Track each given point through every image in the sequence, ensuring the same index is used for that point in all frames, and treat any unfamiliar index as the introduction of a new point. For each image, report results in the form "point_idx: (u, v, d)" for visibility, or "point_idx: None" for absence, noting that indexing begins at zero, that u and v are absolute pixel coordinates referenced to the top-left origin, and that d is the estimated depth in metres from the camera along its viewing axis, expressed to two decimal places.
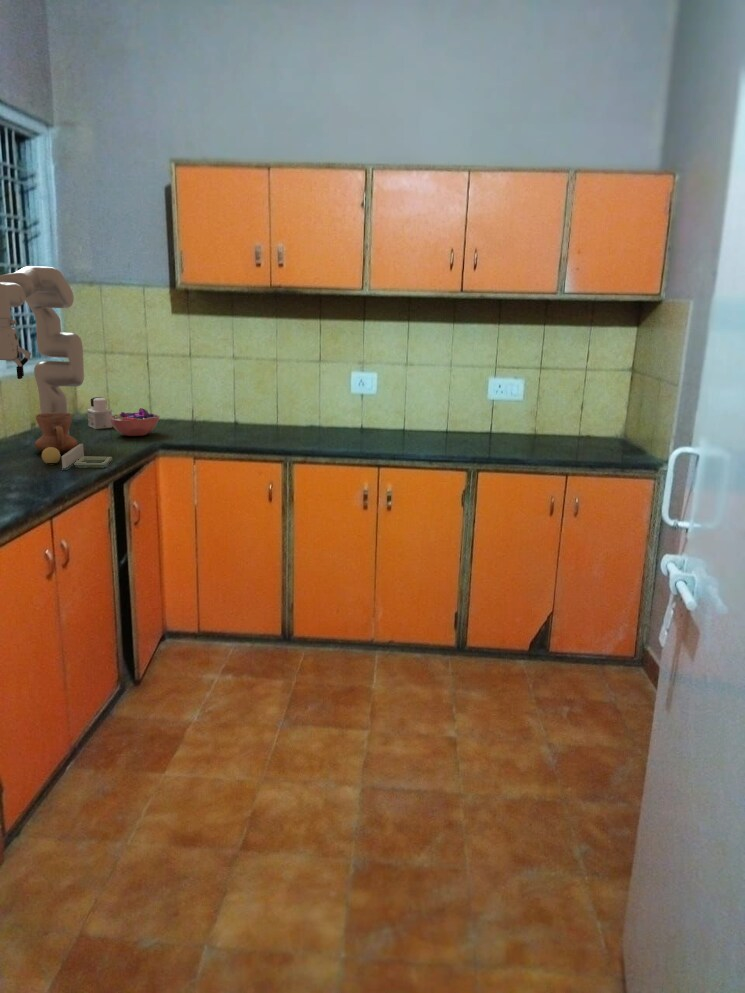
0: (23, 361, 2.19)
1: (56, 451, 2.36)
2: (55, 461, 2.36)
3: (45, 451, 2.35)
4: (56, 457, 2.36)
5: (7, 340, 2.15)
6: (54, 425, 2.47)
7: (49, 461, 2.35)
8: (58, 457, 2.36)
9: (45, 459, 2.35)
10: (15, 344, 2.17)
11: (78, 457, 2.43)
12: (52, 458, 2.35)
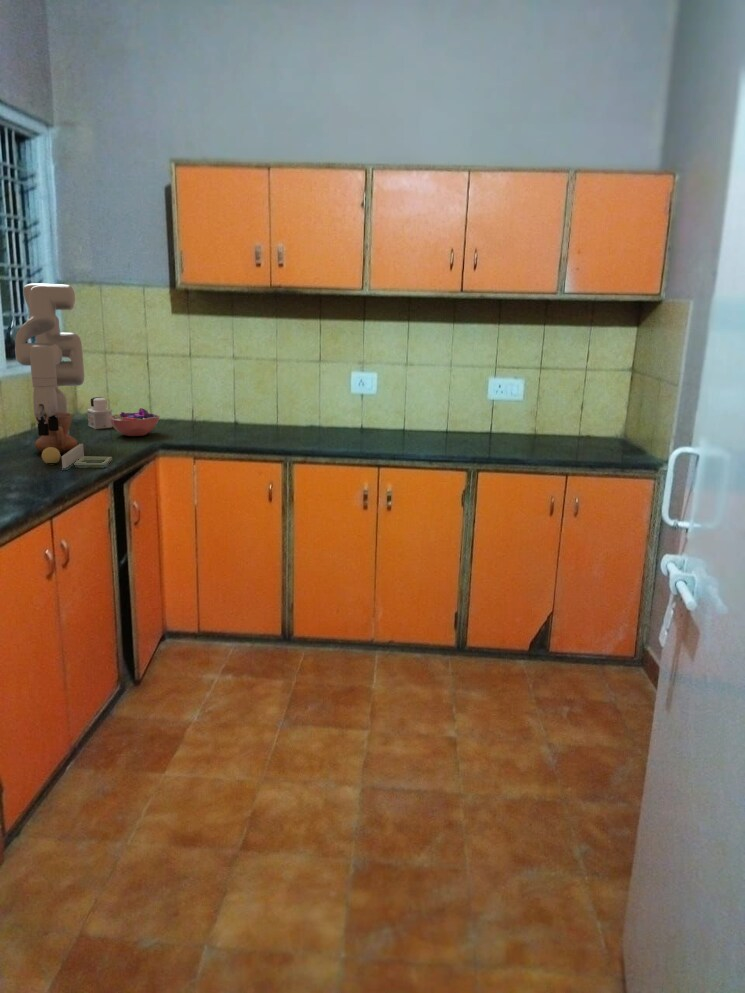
0: (56, 414, 2.39)
1: (56, 451, 2.36)
2: (55, 461, 2.36)
3: (45, 451, 2.35)
4: (56, 457, 2.36)
5: (55, 396, 2.34)
6: None
7: (49, 461, 2.35)
8: (58, 457, 2.36)
9: (45, 459, 2.35)
10: None
11: (78, 457, 2.43)
12: (52, 458, 2.35)
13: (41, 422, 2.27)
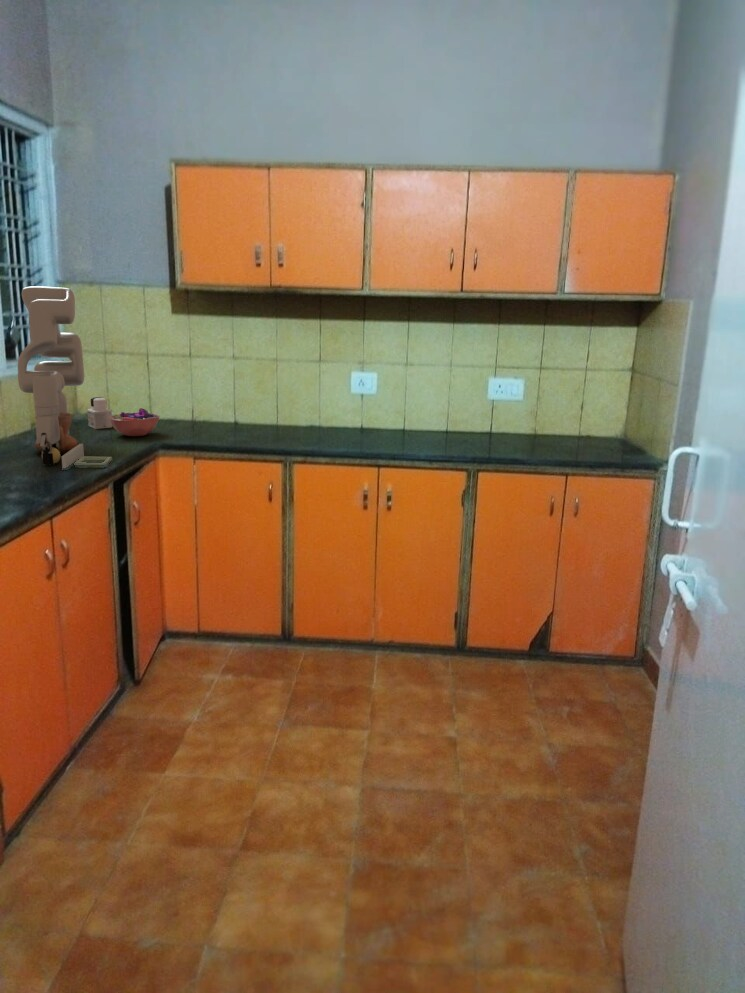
0: (57, 443, 2.41)
1: (56, 451, 2.36)
2: (55, 461, 2.36)
3: None
4: (56, 457, 2.36)
5: (58, 424, 2.37)
6: None
7: None
8: (58, 457, 2.36)
9: None
10: None
11: (78, 457, 2.43)
12: None
13: (46, 452, 2.32)
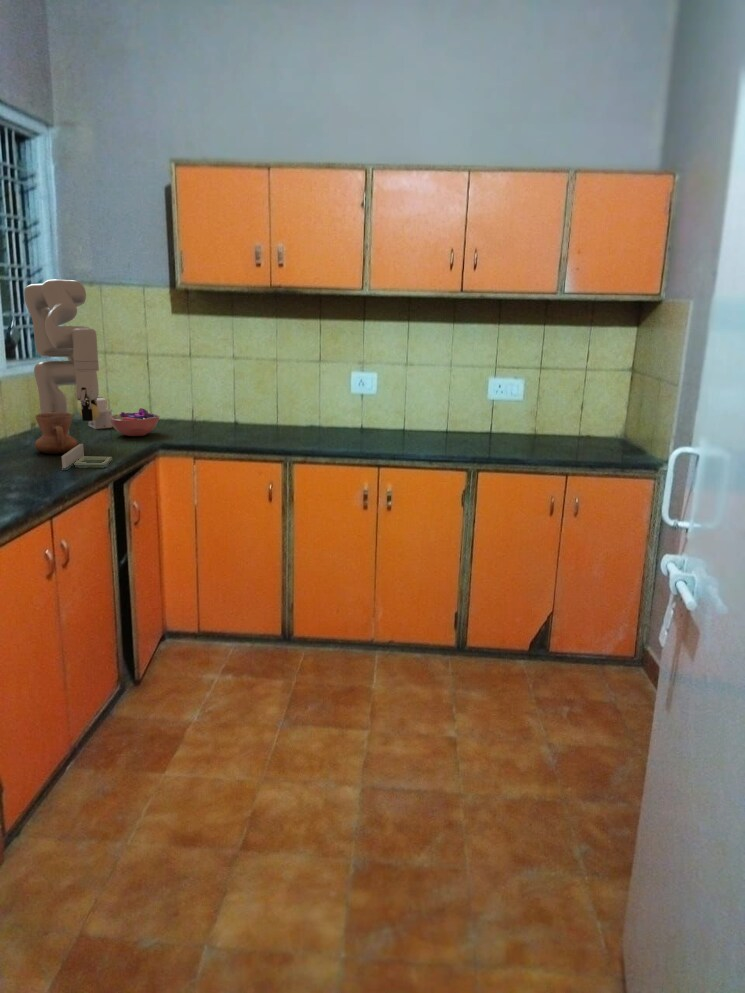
0: None
1: (95, 407, 2.33)
2: (94, 417, 2.33)
3: None
4: (95, 413, 2.33)
5: (97, 380, 2.34)
6: (54, 425, 2.47)
7: None
8: (97, 413, 2.34)
9: None
10: None
11: (78, 457, 2.43)
12: None
13: (85, 407, 2.29)
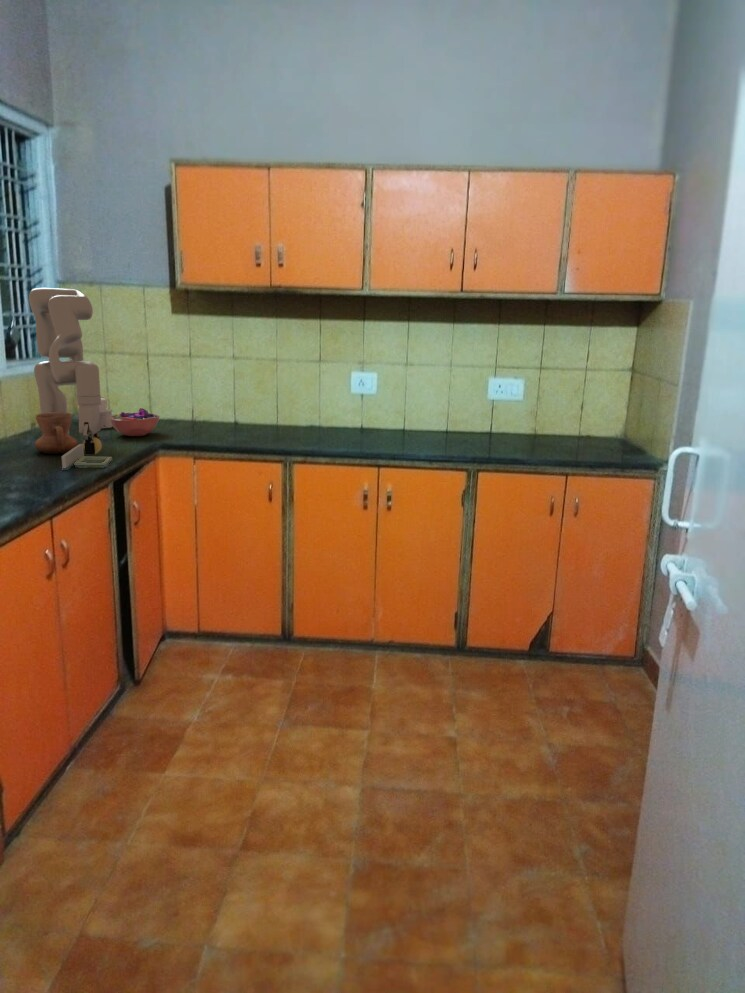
0: None
1: (97, 441, 2.36)
2: (96, 451, 2.37)
3: None
4: (98, 447, 2.36)
5: (99, 413, 2.37)
6: (54, 425, 2.47)
7: None
8: (99, 447, 2.37)
9: None
10: None
11: (78, 457, 2.43)
12: None
13: (88, 441, 2.32)
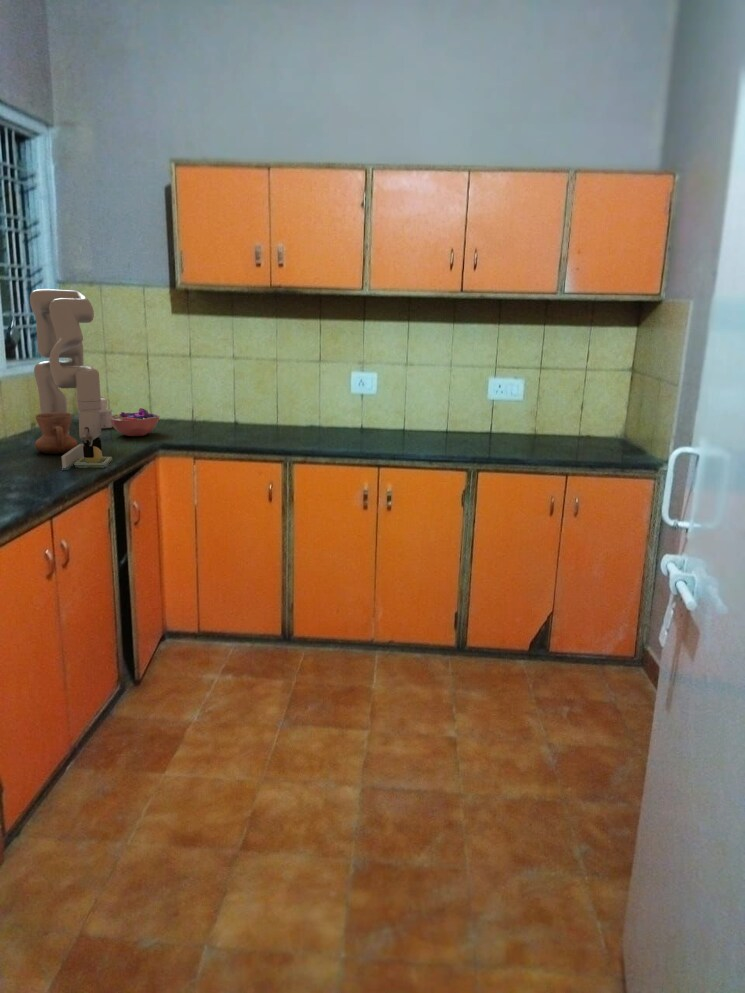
0: None
1: (98, 450, 2.37)
2: (97, 460, 2.38)
3: None
4: (98, 456, 2.37)
5: (99, 418, 2.38)
6: (54, 425, 2.47)
7: (91, 460, 2.36)
8: (100, 456, 2.38)
9: (87, 458, 2.36)
10: None
11: (78, 457, 2.43)
12: (94, 457, 2.36)
13: (87, 445, 2.31)
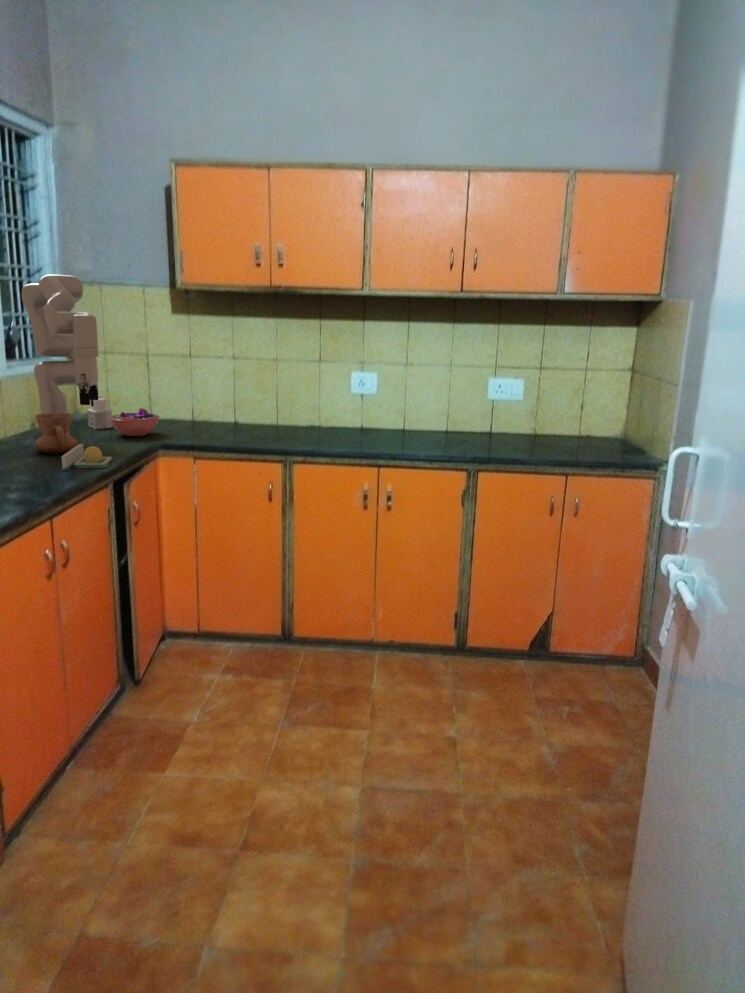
0: None
1: (98, 450, 2.37)
2: (97, 460, 2.38)
3: (87, 450, 2.36)
4: (98, 456, 2.37)
5: (96, 366, 2.35)
6: (54, 425, 2.47)
7: (91, 460, 2.36)
8: (100, 456, 2.38)
9: (87, 458, 2.36)
10: None
11: (78, 457, 2.43)
12: (94, 457, 2.36)
13: (83, 391, 2.28)
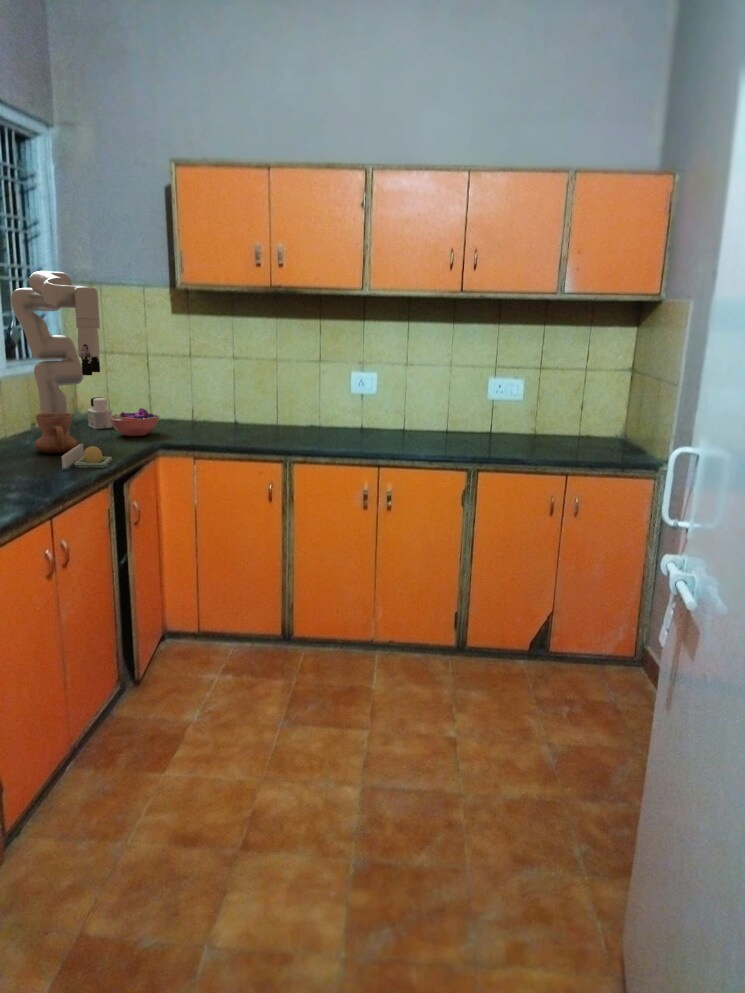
0: (98, 356, 2.47)
1: (98, 450, 2.37)
2: (97, 460, 2.38)
3: (87, 451, 2.36)
4: (98, 457, 2.37)
5: (98, 338, 2.42)
6: (54, 425, 2.47)
7: (91, 460, 2.36)
8: (100, 456, 2.38)
9: (87, 458, 2.36)
10: None
11: (78, 457, 2.43)
12: (94, 458, 2.36)
13: (85, 362, 2.35)
